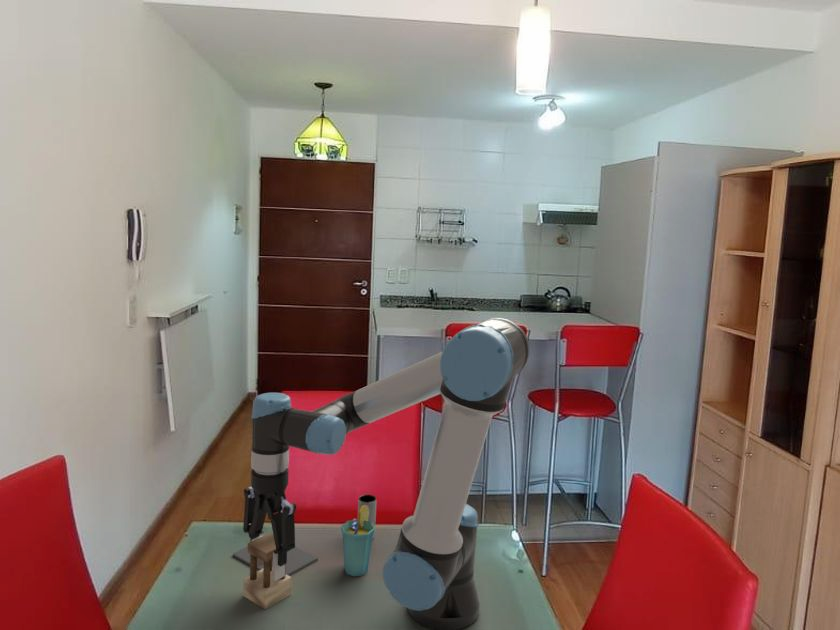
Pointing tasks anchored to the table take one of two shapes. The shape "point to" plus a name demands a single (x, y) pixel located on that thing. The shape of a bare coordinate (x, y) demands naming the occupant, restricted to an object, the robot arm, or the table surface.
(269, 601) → the oak block
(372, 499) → the grey hollow cylinder
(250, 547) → the stool
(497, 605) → the table surface
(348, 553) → the cup
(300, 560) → the mat
